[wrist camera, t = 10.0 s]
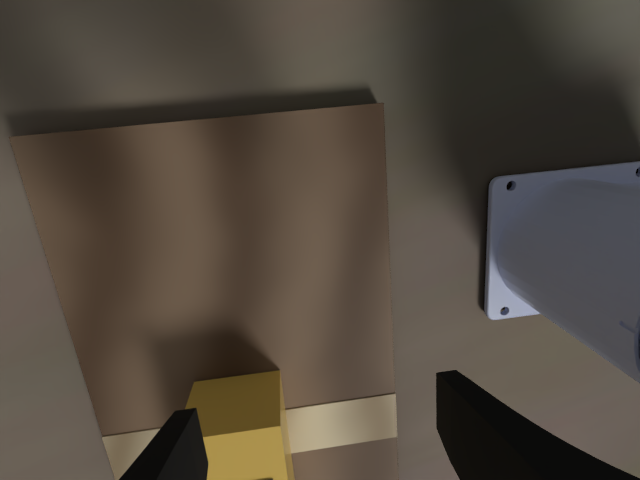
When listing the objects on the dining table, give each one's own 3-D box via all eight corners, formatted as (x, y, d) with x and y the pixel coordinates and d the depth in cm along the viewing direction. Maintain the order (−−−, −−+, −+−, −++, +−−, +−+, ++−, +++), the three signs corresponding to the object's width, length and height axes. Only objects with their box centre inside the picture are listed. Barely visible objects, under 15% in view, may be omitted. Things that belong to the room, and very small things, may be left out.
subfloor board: (377, 104, 18) (383, 102, 17) (395, 492, 25) (400, 507, 24) (23, 136, 17) (7, 136, 16) (144, 534, 24) (138, 552, 23)
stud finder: (280, 370, 20) (280, 428, 16) (295, 486, 23) (299, 562, 19) (194, 381, 20) (173, 444, 16) (218, 498, 22) (205, 578, 18)
